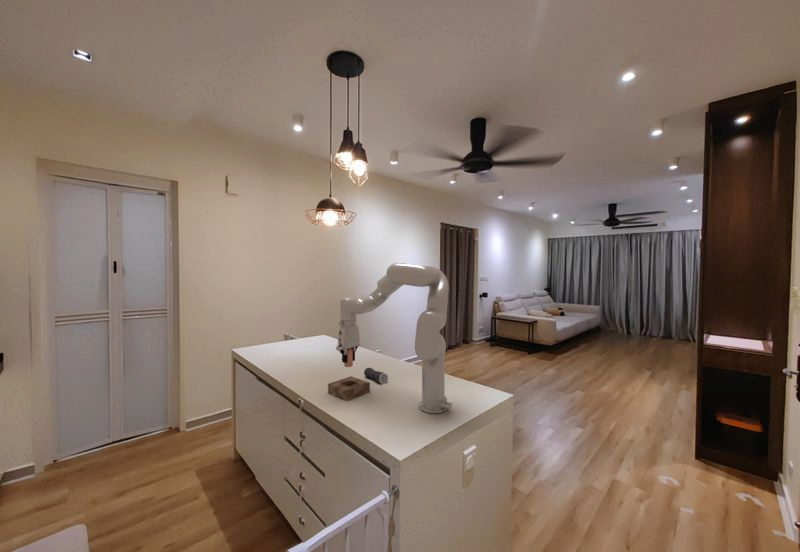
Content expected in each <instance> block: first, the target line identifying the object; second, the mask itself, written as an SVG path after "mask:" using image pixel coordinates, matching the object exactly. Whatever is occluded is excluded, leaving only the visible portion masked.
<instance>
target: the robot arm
mask: <svg viewBox="0 0 800 552" xmlns="http://www.w3.org/2000/svg"><path fill="white" fill-rule="evenodd" d="M385 273H386V274H385V275H384V276H383V277H381V278H380V279H379V280H378V281H377V282H376V285H377V287H376V289H375V290H373V291H372V292H371V293H370V294H368V295H367V296H363V297H358V298H357V297H356V298H355V297H350V296H346V297H341V298H340V302H339V303H340V309H339V313H340V315H339V316H340V317H339V318H340V319H339V322H338V325H339V328H338V334H337V345H336V347H335V350H336V351H338V352H339V353H340V355H341V362H342V363H343V364H344V363H347V354H346V352H347V349H348V348H352V349H353V362H355V361H356V352H357V350H358V348H359V346H361V343H360V331H359V330H360V329H359V326H358V324H357V315H363V314H367V313H371V312H373V311H374V310H376V309H377V308H379V307H380V306H382V305H383V304H384V303H385V302H386V301H387V300H388V299H389V298H390V296H392V294H394V293H395V292H397V291H398V290H399V289H400V288H401V287H403V286H404V285H405V286H409V287H410V286H411V287H419V288H424V287H428V289H429V290H428V294H427V302H426V309H425V310H424V311H422V312H421V313H420V315H419V316H418V318H417V320H416V321H417V322H416V328H415V329H416V330H415V339H414V351H415V355H416V356H417V358H418V359H419V360H421V361H422V362H421V400H420V401H419V403H418V408H419V410H420V411H422V412H425V413H427V414H435V413H436V414H443V413H444V411H445V412H447V411H451V410H452V409H453V408H452V407H453V403H451V402H449V401H448V397H447V396H446V393H445V392H446V391H445V390H446V389H445V385H446V384H445V379H446V378H445V376H446V375H445V374H446V373H445V371H446V369H445V368H446V366H445V364H446V363H445V362H446V358H445V357H446V350H447V345H446V340H445V338H444V336H443V335H442V334H441V333H440V331H441V329H443V328H445V326H446V324H447V313H448V301H449V292H450V291H449V289H450V287H449V281H448V277H447V276H446V274H445V273H444V272H442V271H441V270H440V269H439V268H437V267H435V266H432V265H431V266H430V265H416V264H408V263H405V262H394V263H392V264H390V265H389V266H388V268H387V270H386V272H385ZM447 409H448V410H447ZM446 410H447V411H446Z"/></svg>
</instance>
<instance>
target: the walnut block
mask: <svg viewBox="0 0 800 552" xmlns="http://www.w3.org/2000/svg"><path fill="white" fill-rule="evenodd" d="M370 385H371V384H370V382H368V381H366V380H365V379H364V380H363V379H361V378H357V377H354V376H351V375H350V376H348V377H345V378H342V379H339V380H335V381H332V382H329V383H327V389H328V390H327V394H329V395H331V396H333V397H337V398H338V399H341V400H343V401H345V402H348V401H351V400H353V399H357V398H358V397H361V396H363V395H366V394H368V393H370V391H371V388H370V387H371V386H370Z"/></svg>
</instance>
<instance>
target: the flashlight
mask: <svg viewBox="0 0 800 552" xmlns="http://www.w3.org/2000/svg"><path fill="white" fill-rule="evenodd" d="M363 374H364V376H365V377H366V378H368V379H373V380H374V381H375V382H377V383H378V384H381V385H384V384H386V383H387V382H388V380H389V376H388V374H387V373H386V372H383V371H379V370H378V371H377V370H376V369H374V368H372V367H366V368H365V369H364V371H363Z"/></svg>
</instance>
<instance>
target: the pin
mask: <svg viewBox="0 0 800 552" xmlns="http://www.w3.org/2000/svg"><path fill="white" fill-rule="evenodd" d="M346 354H347V363H344V362H343V364H344V365H343V366H344V367H346V368H351V367H353V365H354V361H353V349H352V348H348V349H347V352H346Z"/></svg>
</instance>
